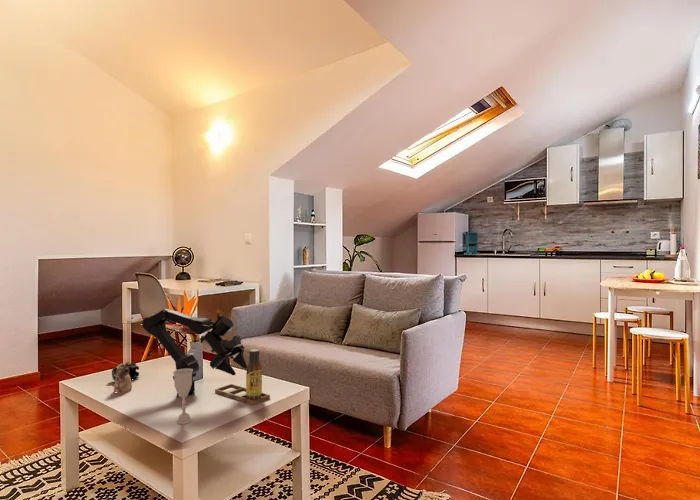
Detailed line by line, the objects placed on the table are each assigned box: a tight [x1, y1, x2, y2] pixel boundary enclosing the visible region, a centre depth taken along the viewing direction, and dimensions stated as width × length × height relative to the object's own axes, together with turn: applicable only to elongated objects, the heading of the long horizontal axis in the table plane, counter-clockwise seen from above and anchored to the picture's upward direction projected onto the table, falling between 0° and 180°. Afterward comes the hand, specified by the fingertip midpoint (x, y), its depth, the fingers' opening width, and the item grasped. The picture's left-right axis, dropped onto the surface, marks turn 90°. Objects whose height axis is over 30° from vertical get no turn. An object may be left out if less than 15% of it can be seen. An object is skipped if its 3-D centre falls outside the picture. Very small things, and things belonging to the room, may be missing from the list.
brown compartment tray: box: [214, 383, 271, 406], centre depth 178 cm, size 25×9×2 cm, turn 53°
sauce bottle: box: [245, 348, 263, 401], centre depth 173 cm, size 6×6×20 cm
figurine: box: [113, 362, 133, 394], centre depth 187 cm, size 7×7×12 cm
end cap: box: [111, 362, 140, 382], centre depth 202 cm, size 10×7×7 cm
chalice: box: [172, 368, 193, 425], centre depth 153 cm, size 7×7×18 cm
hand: (240, 371), depth 174 cm, fingers open, 9 cm apart
